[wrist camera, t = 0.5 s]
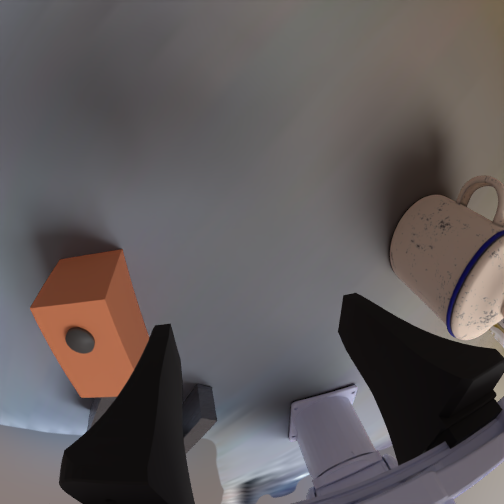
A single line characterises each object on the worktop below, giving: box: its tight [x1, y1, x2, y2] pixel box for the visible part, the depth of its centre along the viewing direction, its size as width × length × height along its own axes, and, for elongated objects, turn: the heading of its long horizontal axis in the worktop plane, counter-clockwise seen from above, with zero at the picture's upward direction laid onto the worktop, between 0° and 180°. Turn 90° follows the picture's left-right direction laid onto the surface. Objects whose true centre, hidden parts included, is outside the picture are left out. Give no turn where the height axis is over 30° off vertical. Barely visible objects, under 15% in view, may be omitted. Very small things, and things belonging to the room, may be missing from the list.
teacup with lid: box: [390, 176, 504, 340], centre depth 19 cm, size 12×9×12 cm
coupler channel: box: [87, 384, 217, 454], centre depth 25 cm, size 10×10×4 cm
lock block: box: [30, 249, 149, 398], centre depth 19 cm, size 8×5×6 cm, turn 4°
